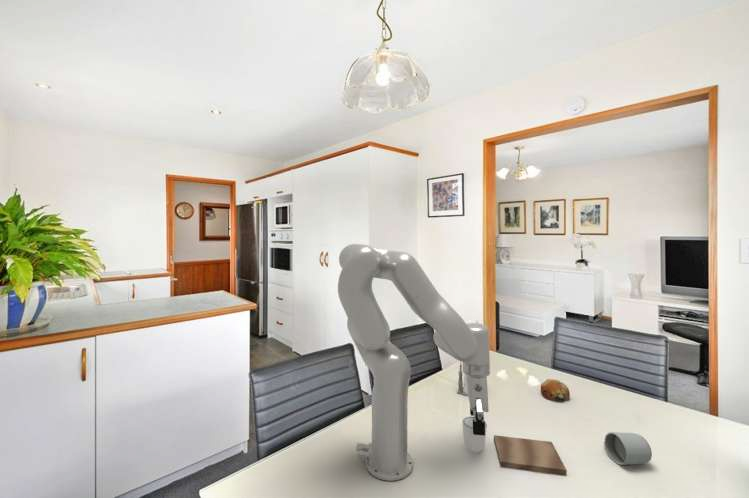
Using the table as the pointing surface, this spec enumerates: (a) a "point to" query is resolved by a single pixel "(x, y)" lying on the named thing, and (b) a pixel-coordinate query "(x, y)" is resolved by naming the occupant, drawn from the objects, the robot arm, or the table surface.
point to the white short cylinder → (472, 436)
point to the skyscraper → (464, 389)
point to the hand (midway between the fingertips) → (477, 424)
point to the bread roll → (555, 390)
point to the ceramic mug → (627, 448)
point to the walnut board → (528, 455)
